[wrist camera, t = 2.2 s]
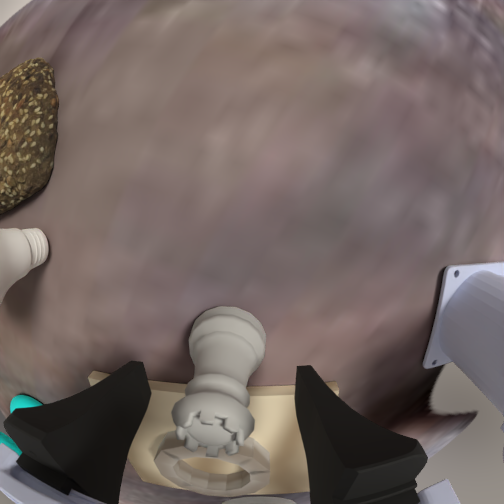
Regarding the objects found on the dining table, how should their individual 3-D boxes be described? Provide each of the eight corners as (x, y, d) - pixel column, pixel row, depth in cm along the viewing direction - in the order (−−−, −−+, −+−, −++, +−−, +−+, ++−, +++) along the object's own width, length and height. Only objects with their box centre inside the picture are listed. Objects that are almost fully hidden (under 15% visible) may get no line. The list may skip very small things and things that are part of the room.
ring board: (335, 381, 16) (346, 410, 13) (309, 484, 20) (313, 505, 17) (93, 370, 17) (75, 392, 14) (145, 474, 20) (138, 493, 17)
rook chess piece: (197, 294, 15) (149, 383, 7) (274, 311, 15) (287, 413, 7) (188, 356, 16) (151, 453, 8) (256, 371, 16) (255, 475, 8)
